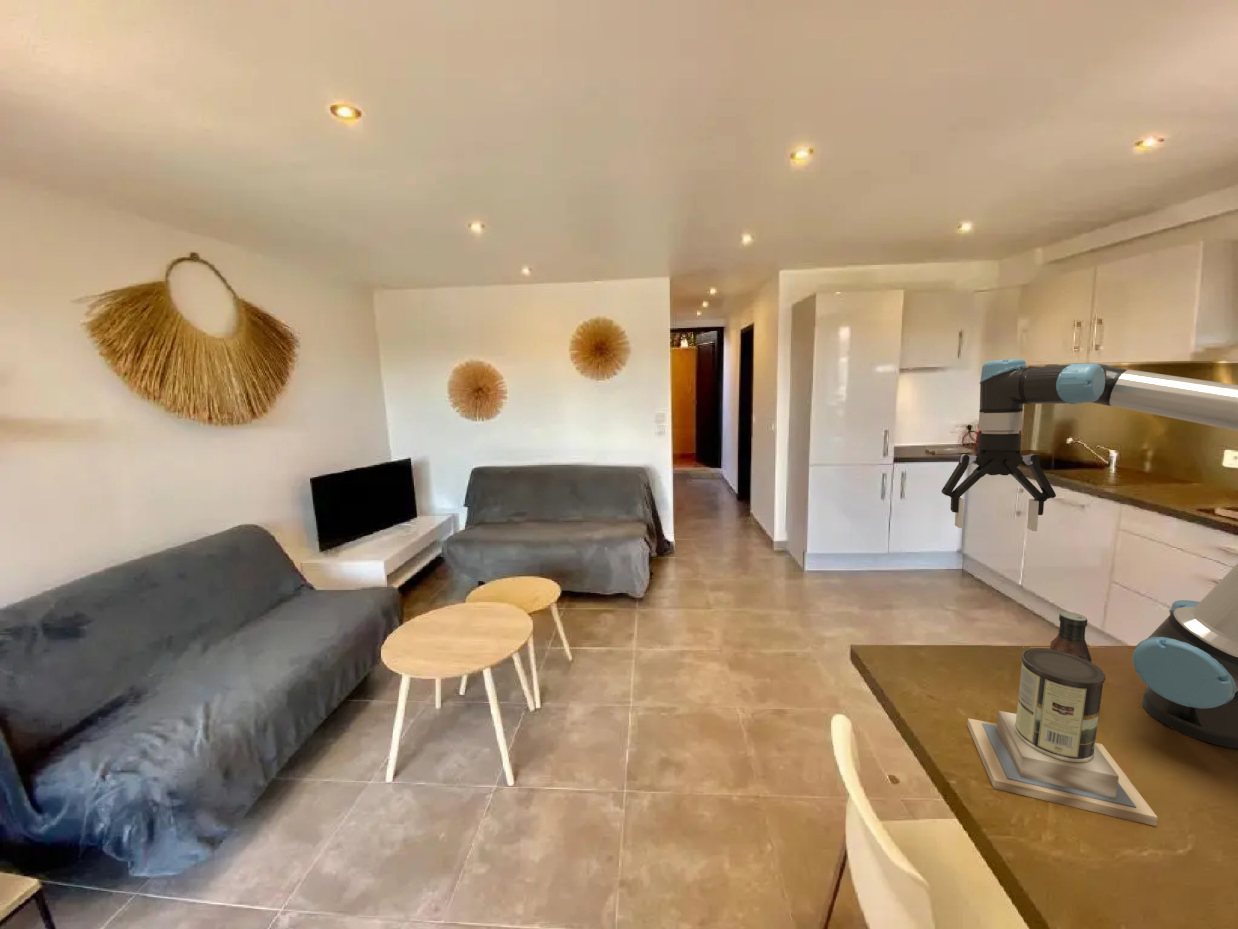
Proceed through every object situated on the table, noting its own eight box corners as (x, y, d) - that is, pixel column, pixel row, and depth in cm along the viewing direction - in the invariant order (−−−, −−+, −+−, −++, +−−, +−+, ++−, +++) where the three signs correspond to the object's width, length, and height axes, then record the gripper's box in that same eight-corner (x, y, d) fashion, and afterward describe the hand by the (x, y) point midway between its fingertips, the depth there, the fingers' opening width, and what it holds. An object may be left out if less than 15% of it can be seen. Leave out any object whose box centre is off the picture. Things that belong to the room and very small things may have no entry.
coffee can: (1064, 722, 88) (1074, 649, 85) (1111, 766, 78) (1124, 685, 75) (1000, 717, 89) (1008, 645, 87) (1038, 760, 79) (1048, 680, 77)
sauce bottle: (1093, 721, 96) (1107, 626, 92) (1056, 718, 97) (1068, 623, 93) (1070, 700, 102) (1082, 610, 99) (1035, 697, 103) (1046, 608, 100)
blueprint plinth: (1100, 751, 88) (1104, 723, 87) (1156, 826, 73) (1161, 794, 72) (967, 725, 95) (969, 699, 95) (993, 788, 81) (996, 758, 80)
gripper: (1062, 430, 106) (1055, 526, 109) (928, 432, 115) (925, 521, 117) (1081, 432, 99) (1073, 535, 102) (937, 434, 108) (933, 529, 110)
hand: (994, 528), depth 109 cm, fingers open, 13 cm apart
